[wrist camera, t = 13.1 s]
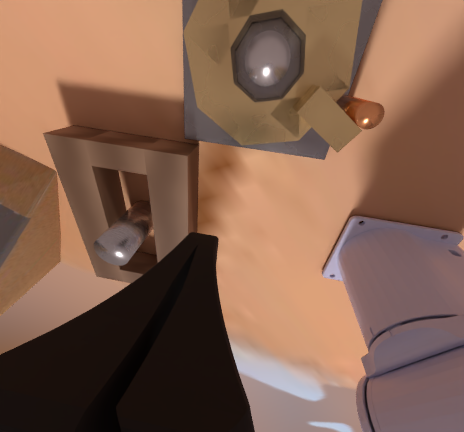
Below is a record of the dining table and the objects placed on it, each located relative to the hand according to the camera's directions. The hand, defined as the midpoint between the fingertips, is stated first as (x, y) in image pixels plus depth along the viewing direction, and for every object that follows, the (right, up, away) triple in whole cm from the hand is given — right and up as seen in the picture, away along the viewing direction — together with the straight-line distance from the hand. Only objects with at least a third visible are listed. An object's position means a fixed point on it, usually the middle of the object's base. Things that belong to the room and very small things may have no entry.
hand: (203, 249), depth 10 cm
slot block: (-8, +2, +12) cm, 14 cm away
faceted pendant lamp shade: (+4, +11, +3) cm, 12 cm away
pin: (-8, +2, +12) cm, 14 cm away
